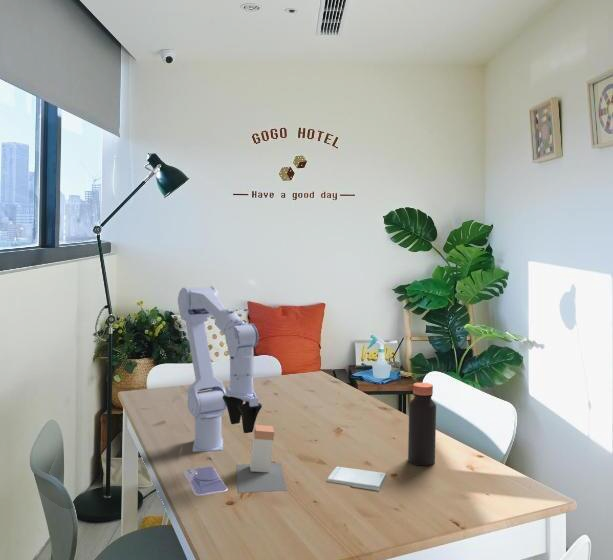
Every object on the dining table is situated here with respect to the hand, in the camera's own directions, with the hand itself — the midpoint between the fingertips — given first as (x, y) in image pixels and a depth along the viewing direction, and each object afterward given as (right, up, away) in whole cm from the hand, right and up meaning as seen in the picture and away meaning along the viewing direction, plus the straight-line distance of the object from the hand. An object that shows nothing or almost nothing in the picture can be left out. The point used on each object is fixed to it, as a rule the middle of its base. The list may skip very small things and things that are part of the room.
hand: (241, 427), depth 138 cm
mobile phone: (-8, -11, -7) cm, 15 cm away
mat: (+5, -11, -5) cm, 13 cm away
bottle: (+46, -10, +6) cm, 47 cm away
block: (+5, -10, -1) cm, 11 cm away
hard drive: (+28, -12, -6) cm, 31 cm away
